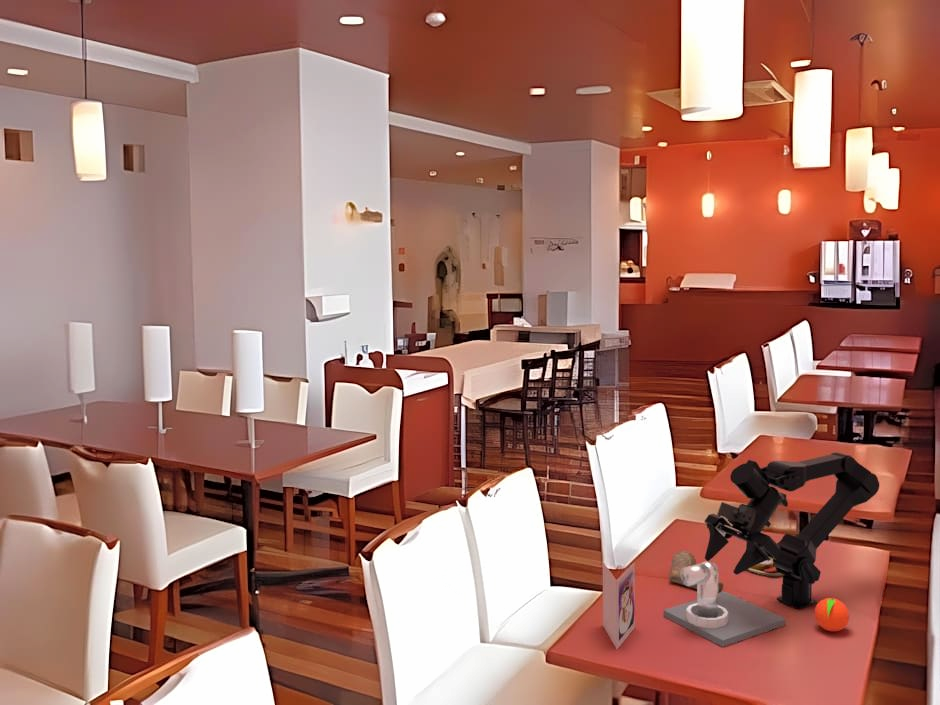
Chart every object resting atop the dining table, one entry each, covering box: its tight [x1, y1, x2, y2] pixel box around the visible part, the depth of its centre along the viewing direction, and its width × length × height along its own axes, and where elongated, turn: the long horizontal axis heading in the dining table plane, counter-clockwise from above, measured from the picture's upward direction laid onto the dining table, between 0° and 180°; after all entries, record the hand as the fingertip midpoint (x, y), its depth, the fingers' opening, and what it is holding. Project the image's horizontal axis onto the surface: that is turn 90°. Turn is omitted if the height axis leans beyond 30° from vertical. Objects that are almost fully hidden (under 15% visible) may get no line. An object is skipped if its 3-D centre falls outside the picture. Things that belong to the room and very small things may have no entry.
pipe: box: [668, 550, 724, 593], centre depth 215 cm, size 6×17×10 cm
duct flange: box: [663, 591, 786, 648], centre depth 193 cm, size 19×18×4 cm
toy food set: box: [746, 557, 784, 577], centre depth 223 cm, size 13×13×3 cm
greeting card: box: [602, 561, 636, 650], centre depth 187 cm, size 11×7×15 cm, turn 151°
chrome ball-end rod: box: [680, 560, 720, 618], centre depth 189 cm, size 8×4×13 cm, turn 116°
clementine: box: [814, 597, 850, 632], centre depth 187 cm, size 8×7×7 cm
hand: (720, 566), depth 191 cm, fingers open, 9 cm apart
